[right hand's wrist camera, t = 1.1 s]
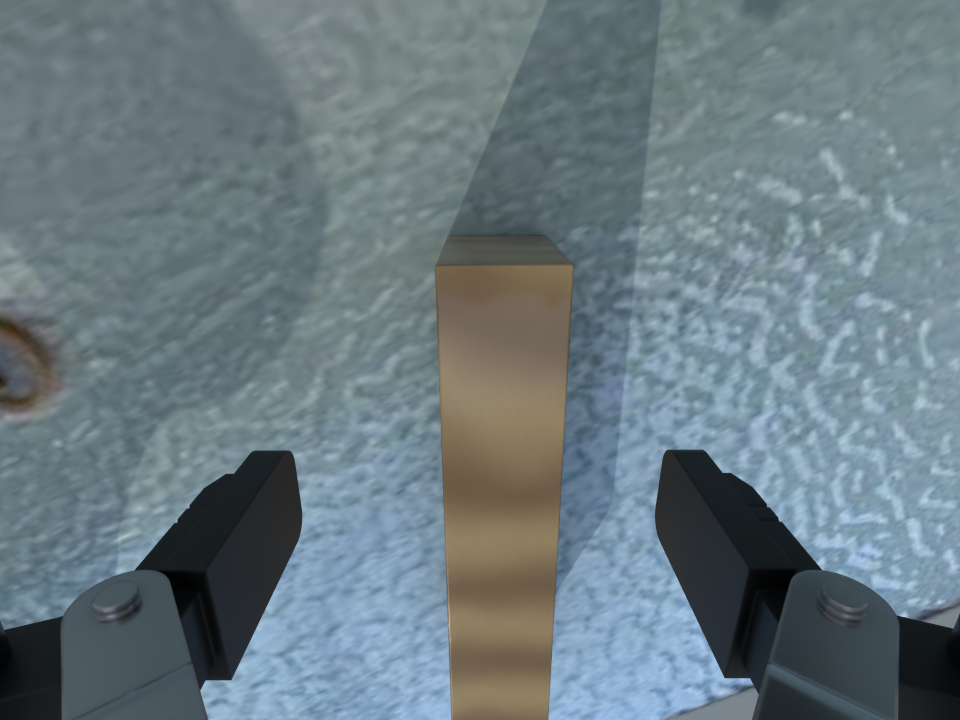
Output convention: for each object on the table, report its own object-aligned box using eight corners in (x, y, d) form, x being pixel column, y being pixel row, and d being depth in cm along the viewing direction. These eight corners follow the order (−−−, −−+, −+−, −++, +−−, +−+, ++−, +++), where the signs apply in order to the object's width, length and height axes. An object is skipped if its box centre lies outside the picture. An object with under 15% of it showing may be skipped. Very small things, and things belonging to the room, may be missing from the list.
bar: (447, 235, 27) (435, 264, 19) (546, 235, 27) (574, 264, 19) (458, 633, 37) (452, 762, 29) (531, 632, 37) (546, 762, 29)
